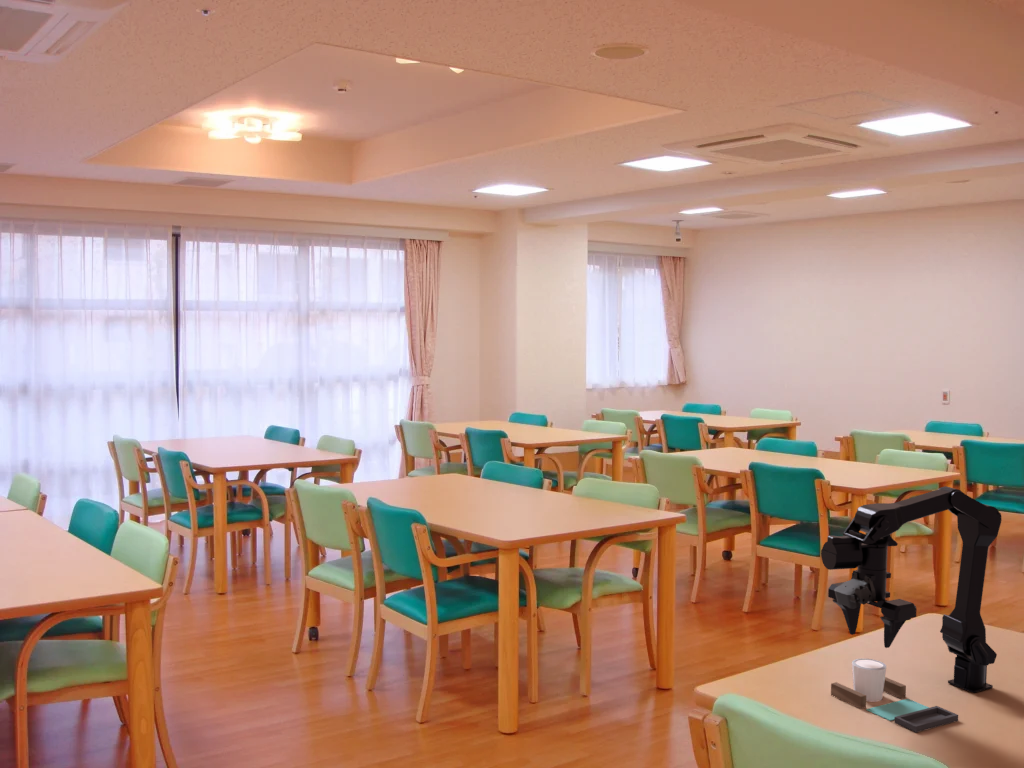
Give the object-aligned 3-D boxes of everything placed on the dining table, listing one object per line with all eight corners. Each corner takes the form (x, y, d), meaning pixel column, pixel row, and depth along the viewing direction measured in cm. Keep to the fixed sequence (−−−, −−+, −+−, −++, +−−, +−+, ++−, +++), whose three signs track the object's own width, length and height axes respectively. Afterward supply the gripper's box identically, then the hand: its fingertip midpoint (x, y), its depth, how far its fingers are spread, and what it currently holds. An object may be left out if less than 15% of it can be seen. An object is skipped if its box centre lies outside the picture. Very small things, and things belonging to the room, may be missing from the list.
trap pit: (936, 711, 196) (936, 705, 196) (958, 720, 192) (958, 714, 192) (894, 723, 191) (894, 717, 191) (915, 732, 186) (915, 726, 186)
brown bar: (875, 684, 211) (875, 673, 210) (905, 697, 204) (905, 685, 203) (830, 695, 205) (831, 683, 204) (860, 708, 198) (861, 696, 197)
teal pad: (907, 699, 202) (907, 698, 202) (932, 709, 197) (932, 708, 197) (866, 710, 197) (866, 709, 197) (890, 721, 192) (890, 720, 192)
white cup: (888, 704, 200) (889, 670, 200) (853, 701, 201) (854, 668, 201) (882, 691, 207) (883, 659, 206) (848, 688, 208) (849, 656, 208)
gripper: (810, 560, 207) (807, 633, 208) (879, 582, 190) (877, 661, 191) (848, 555, 212) (846, 625, 213) (919, 576, 195) (916, 652, 197)
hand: (869, 640), depth 203 cm, fingers open, 9 cm apart
